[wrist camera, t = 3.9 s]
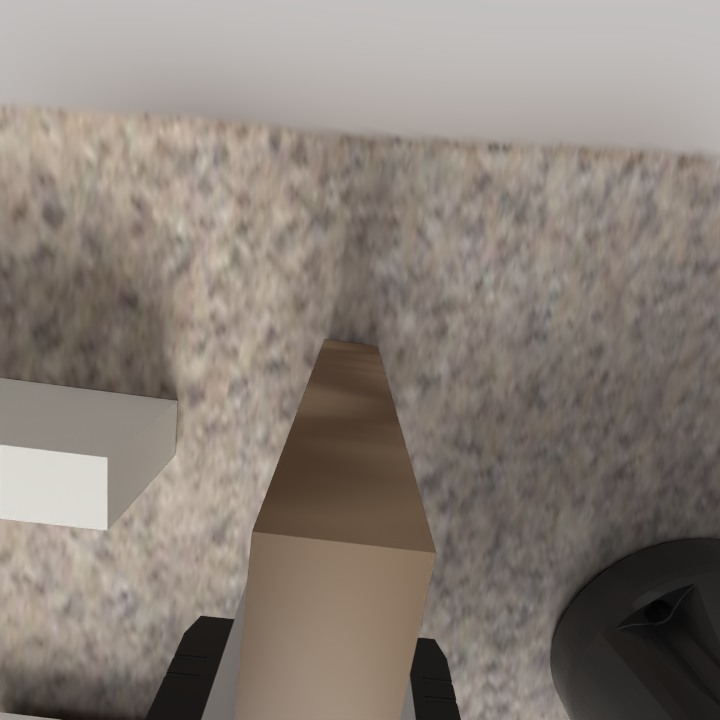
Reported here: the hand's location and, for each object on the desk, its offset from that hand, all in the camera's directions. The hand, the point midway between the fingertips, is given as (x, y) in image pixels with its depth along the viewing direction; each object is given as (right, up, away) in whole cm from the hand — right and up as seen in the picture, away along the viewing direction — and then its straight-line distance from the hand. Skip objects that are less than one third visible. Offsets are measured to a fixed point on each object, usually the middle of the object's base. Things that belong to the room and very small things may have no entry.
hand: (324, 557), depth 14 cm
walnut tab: (0, +2, +7) cm, 7 cm away
